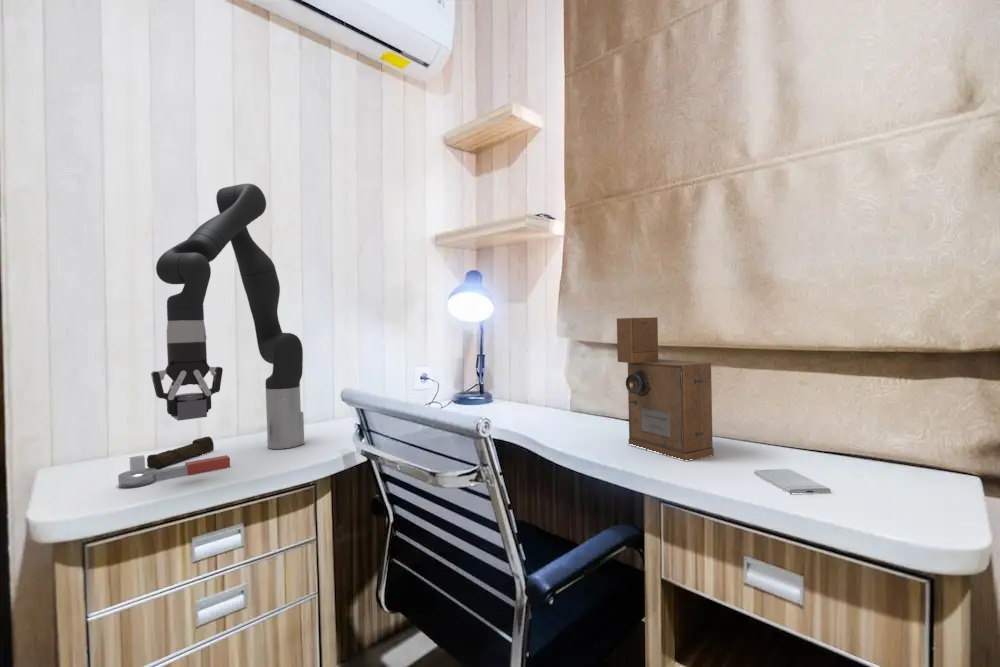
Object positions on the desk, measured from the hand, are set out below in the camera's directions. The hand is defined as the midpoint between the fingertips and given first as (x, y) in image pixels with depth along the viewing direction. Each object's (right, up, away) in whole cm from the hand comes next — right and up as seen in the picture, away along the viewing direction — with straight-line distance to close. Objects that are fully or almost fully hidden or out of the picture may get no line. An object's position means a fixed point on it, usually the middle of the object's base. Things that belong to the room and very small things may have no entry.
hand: (189, 413), depth 111 cm
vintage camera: (+115, -13, +17) cm, 116 cm away
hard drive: (+131, -13, -11) cm, 132 cm away
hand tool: (-14, -16, +20) cm, 29 cm away
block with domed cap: (0, -1, 0) cm, 1 cm away
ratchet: (-6, -16, +5) cm, 17 cm away
